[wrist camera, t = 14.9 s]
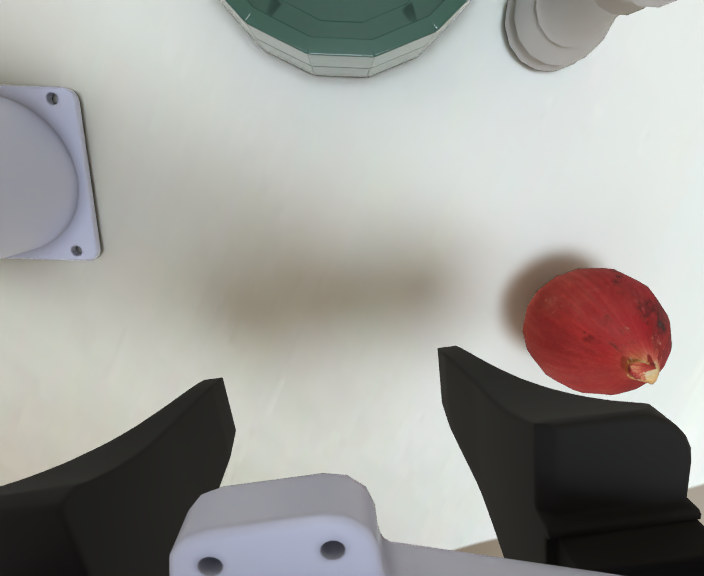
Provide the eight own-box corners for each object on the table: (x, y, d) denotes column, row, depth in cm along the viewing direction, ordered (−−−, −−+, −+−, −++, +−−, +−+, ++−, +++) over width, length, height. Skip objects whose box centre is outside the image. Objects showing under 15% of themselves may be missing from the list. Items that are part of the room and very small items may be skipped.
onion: (569, 230, 22) (690, 267, 15) (624, 307, 24) (762, 378, 16) (480, 300, 23) (550, 369, 16) (538, 370, 25) (628, 466, 17)
